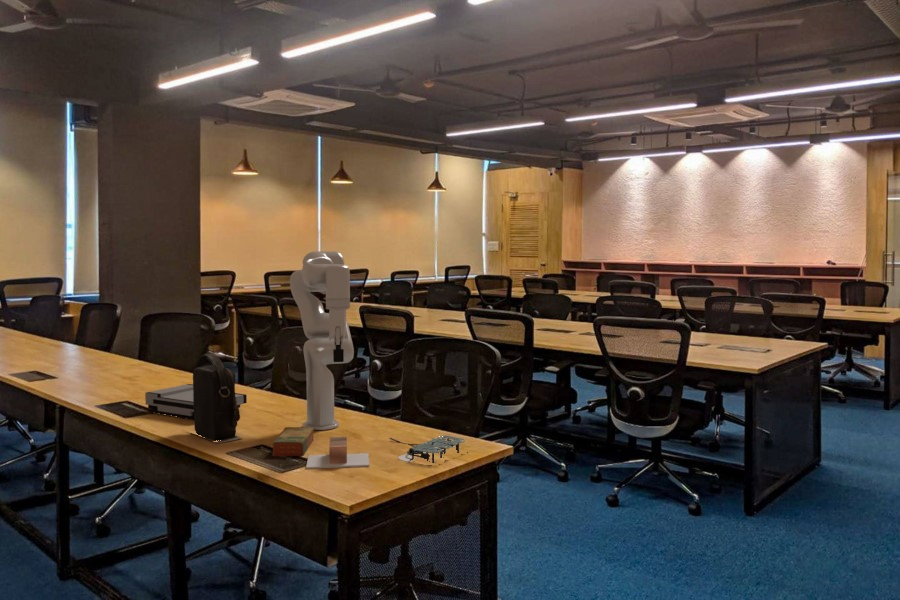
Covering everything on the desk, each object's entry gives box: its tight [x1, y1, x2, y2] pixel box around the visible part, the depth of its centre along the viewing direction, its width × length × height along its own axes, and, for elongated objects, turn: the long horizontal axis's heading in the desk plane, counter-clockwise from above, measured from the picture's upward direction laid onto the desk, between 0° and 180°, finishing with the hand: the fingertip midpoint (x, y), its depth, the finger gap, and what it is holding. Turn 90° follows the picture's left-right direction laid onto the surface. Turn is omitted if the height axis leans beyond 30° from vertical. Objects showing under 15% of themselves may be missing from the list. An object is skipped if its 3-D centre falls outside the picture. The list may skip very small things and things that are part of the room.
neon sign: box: [388, 434, 466, 463], centre depth 224 cm, size 21×4×29 cm
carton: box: [272, 426, 315, 457], centre depth 228 cm, size 10×18×5 cm, turn 1°
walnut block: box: [328, 436, 348, 464], centre depth 214 cm, size 5×5×11 cm
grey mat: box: [305, 452, 370, 470], centre depth 213 cm, size 12×18×1 cm, turn 98°
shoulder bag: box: [192, 352, 243, 444], centre depth 242 cm, size 23×9×28 cm, turn 46°
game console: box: [144, 383, 248, 421], centre depth 277 cm, size 21×32×8 cm, turn 61°
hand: (338, 361), depth 229 cm, fingers closed
